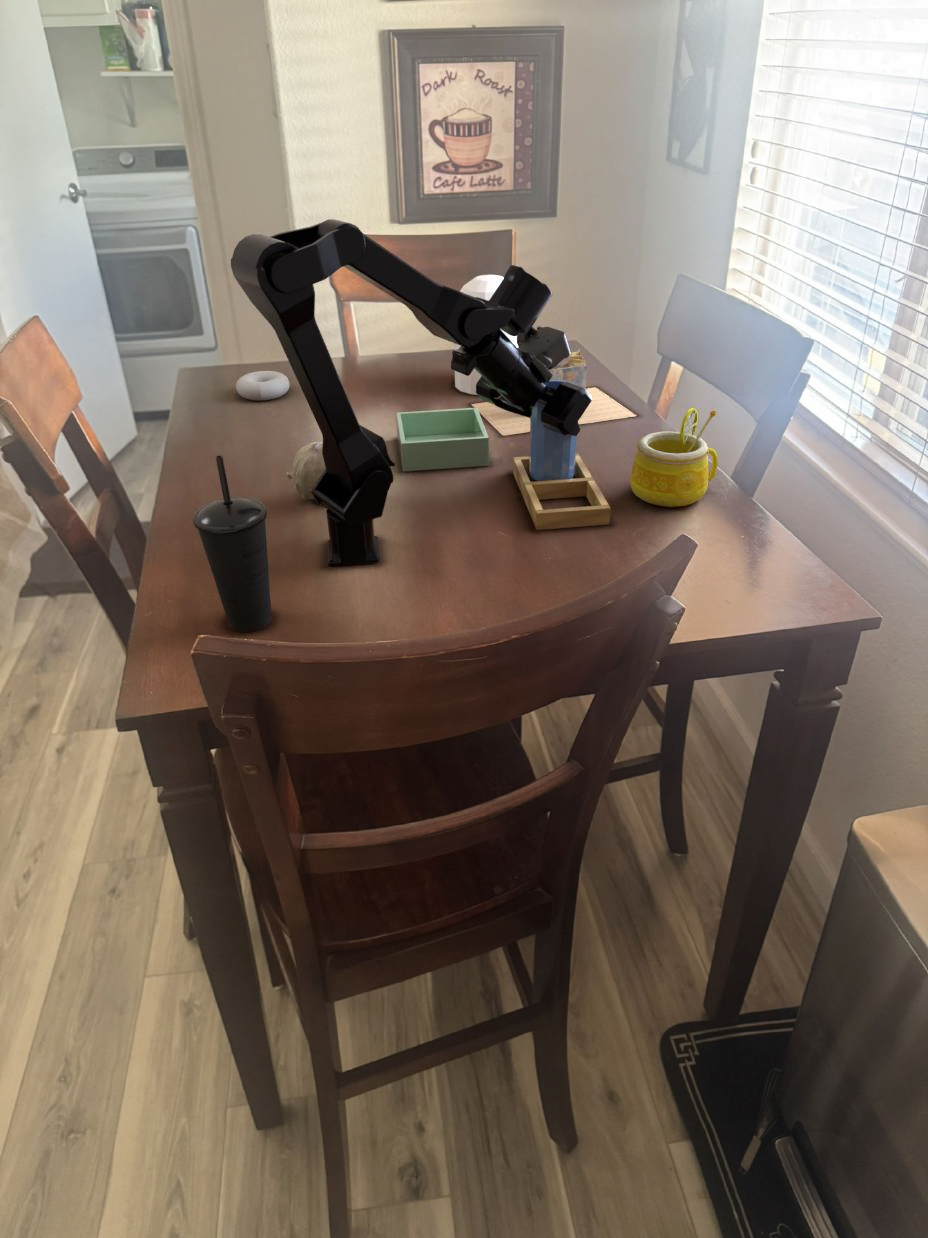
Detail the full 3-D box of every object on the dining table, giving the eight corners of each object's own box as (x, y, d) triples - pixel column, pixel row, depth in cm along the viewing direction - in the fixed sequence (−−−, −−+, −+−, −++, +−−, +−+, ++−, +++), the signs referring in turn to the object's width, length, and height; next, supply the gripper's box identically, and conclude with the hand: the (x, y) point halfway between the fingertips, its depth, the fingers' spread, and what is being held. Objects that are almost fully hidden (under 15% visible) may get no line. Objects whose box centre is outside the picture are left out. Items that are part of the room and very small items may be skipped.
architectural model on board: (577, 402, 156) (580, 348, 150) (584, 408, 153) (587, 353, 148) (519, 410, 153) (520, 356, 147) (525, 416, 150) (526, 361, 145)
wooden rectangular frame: (609, 524, 116) (610, 507, 114) (536, 530, 115) (537, 513, 114) (576, 468, 132) (577, 452, 130) (512, 472, 131) (512, 457, 129)
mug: (649, 517, 117) (659, 433, 111) (617, 485, 126) (623, 406, 119) (733, 504, 120) (747, 422, 113) (695, 474, 129) (706, 396, 122)
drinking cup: (255, 595, 102) (226, 436, 91) (297, 617, 98) (272, 453, 87) (202, 624, 98) (164, 459, 86) (244, 647, 93) (211, 478, 82)
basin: (489, 465, 133) (488, 437, 130) (402, 471, 132) (401, 443, 129) (477, 433, 144) (477, 407, 141) (397, 439, 143) (396, 412, 140)
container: (536, 379, 167) (539, 270, 156) (502, 400, 157) (502, 286, 146) (477, 369, 173) (476, 264, 162) (441, 388, 164) (437, 278, 152)
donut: (283, 383, 169) (232, 390, 165) (281, 365, 167) (229, 372, 163) (296, 398, 161) (243, 406, 157) (294, 380, 159) (241, 387, 156)
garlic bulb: (356, 507, 127) (375, 446, 122) (329, 523, 120) (348, 459, 115) (302, 480, 129) (318, 418, 124) (272, 494, 121) (288, 430, 116)
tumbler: (578, 482, 124) (584, 393, 116) (533, 485, 123) (536, 396, 116) (568, 463, 129) (573, 378, 122) (525, 466, 128) (527, 381, 121)
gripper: (585, 326, 105) (640, 395, 116) (492, 298, 117) (550, 363, 129) (534, 402, 105) (594, 464, 117) (446, 366, 118) (508, 425, 129)
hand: (561, 425), depth 123 cm, fingers closed on tumbler, 7 cm apart
